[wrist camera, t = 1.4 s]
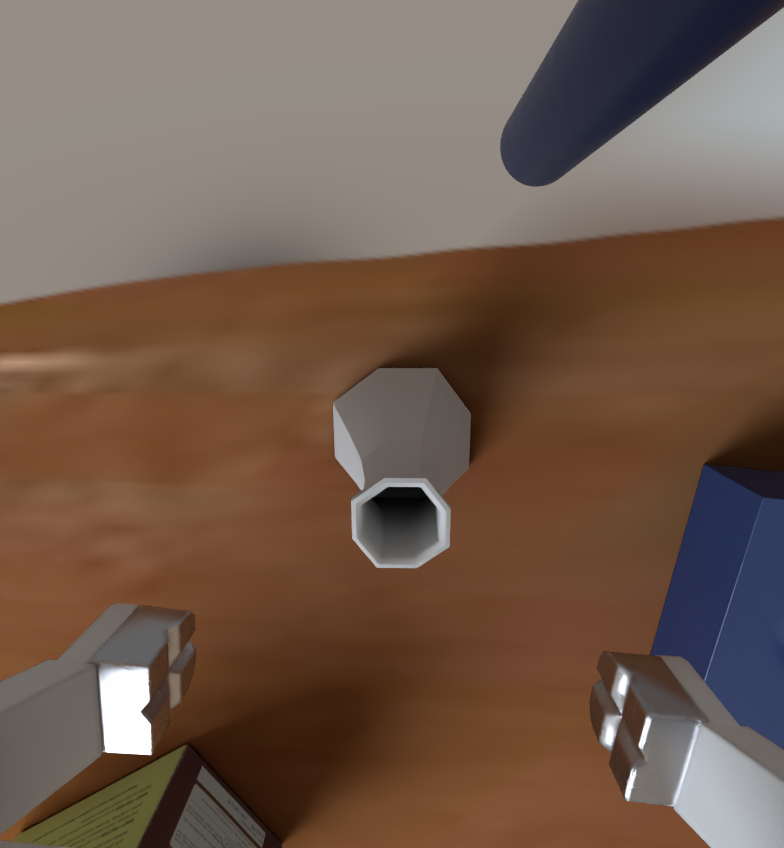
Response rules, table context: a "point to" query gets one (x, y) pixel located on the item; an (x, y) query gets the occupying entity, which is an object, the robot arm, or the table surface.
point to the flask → (402, 461)
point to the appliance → (733, 595)
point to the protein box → (158, 812)
